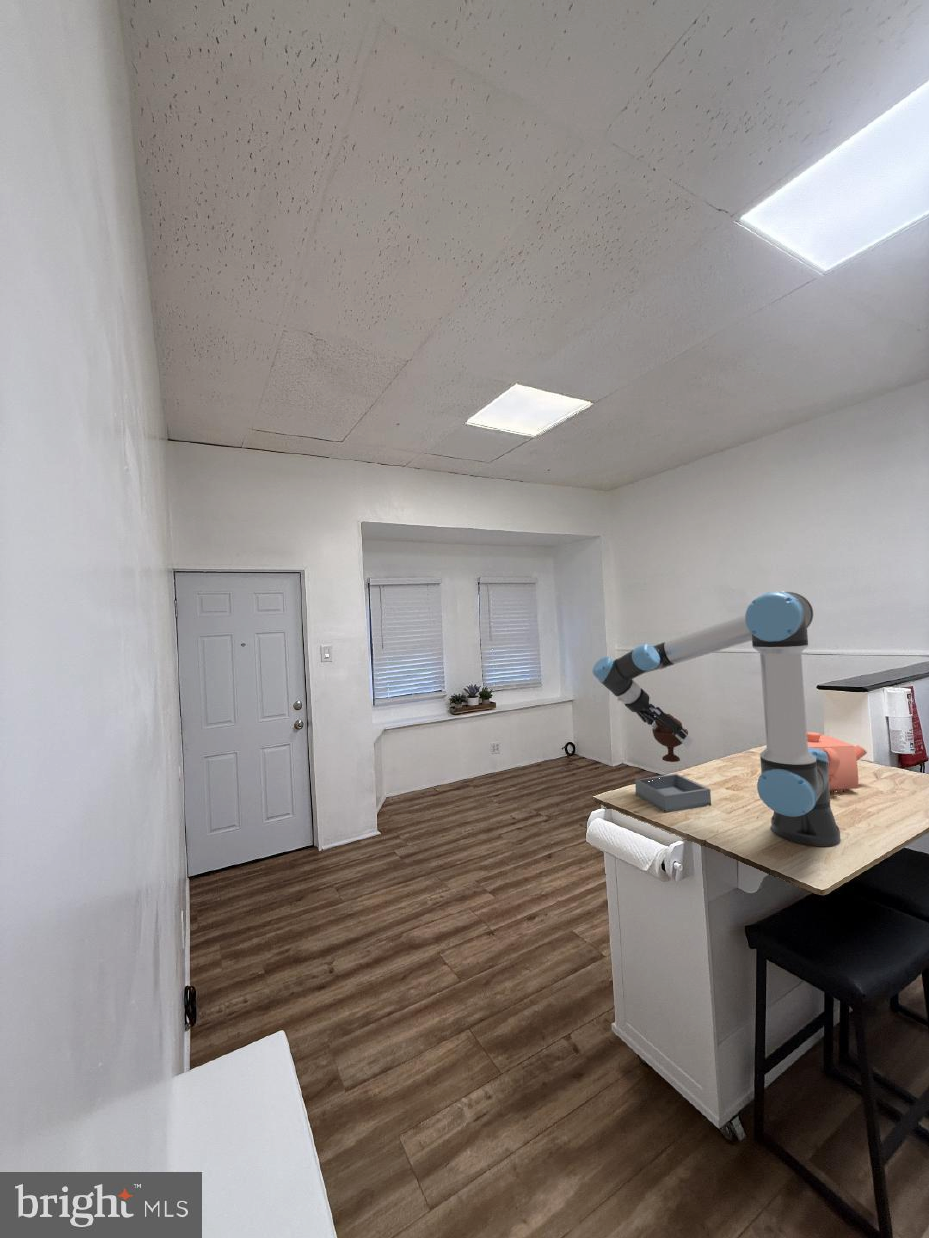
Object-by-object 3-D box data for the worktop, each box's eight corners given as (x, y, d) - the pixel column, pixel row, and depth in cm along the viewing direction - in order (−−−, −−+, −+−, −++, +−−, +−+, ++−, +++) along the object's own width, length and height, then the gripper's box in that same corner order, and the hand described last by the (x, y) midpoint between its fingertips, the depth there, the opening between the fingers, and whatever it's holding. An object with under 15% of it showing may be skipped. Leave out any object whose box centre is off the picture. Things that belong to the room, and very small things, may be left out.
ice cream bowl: (685, 766, 149) (683, 717, 149) (648, 761, 156) (646, 714, 156) (693, 757, 158) (691, 711, 158) (658, 752, 165) (655, 709, 165)
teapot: (844, 773, 171) (841, 723, 171) (894, 798, 148) (891, 740, 148) (769, 775, 173) (766, 725, 173) (807, 799, 151) (804, 742, 151)
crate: (711, 805, 151) (710, 789, 151) (666, 812, 147) (665, 796, 147) (677, 788, 166) (676, 773, 166) (635, 794, 163) (635, 779, 163)
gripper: (606, 699, 165) (649, 739, 169) (646, 711, 142) (695, 758, 146) (620, 682, 166) (662, 722, 170) (661, 692, 143) (709, 738, 147)
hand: (677, 739), depth 158 cm, fingers closed on ice cream bowl, 11 cm apart
